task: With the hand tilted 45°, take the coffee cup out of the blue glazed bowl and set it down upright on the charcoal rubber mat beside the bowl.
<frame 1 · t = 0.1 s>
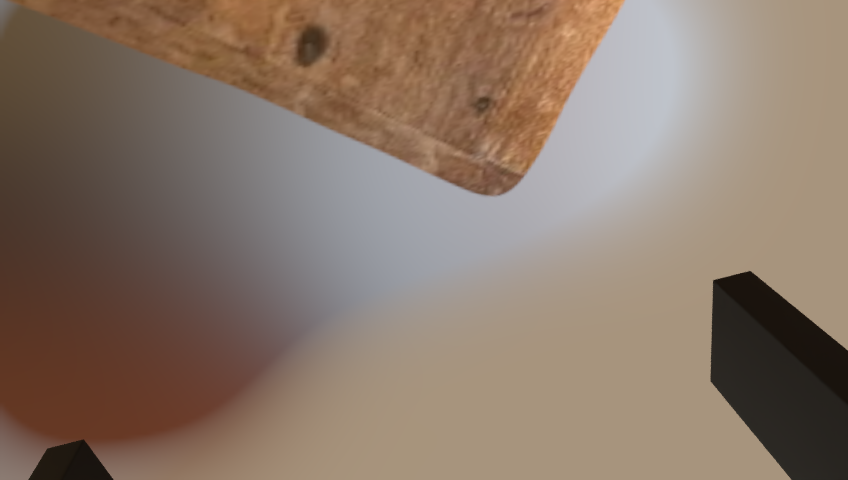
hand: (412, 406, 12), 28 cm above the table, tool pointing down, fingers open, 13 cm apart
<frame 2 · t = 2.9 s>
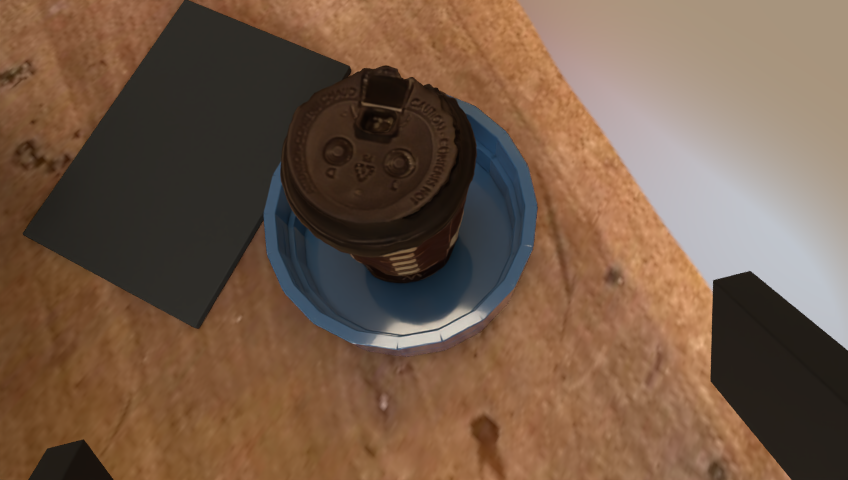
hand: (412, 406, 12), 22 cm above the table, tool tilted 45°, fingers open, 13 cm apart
coffee cup: (407, 234, 35), resting on bowl
mat: (193, 151, 39), on the table
bowl: (407, 235, 36), on the table
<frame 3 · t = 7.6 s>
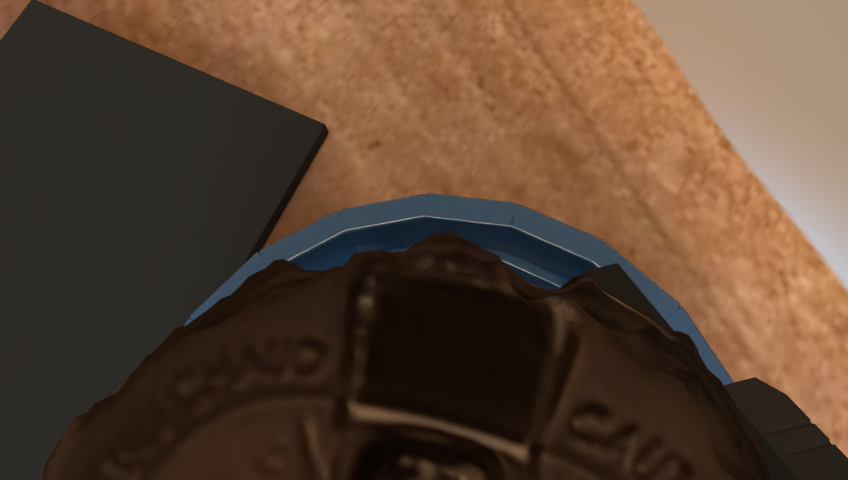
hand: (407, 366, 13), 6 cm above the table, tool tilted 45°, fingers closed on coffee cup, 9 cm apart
mat: (27, 289, 20), on the table
bowl: (440, 479, 18), on the table
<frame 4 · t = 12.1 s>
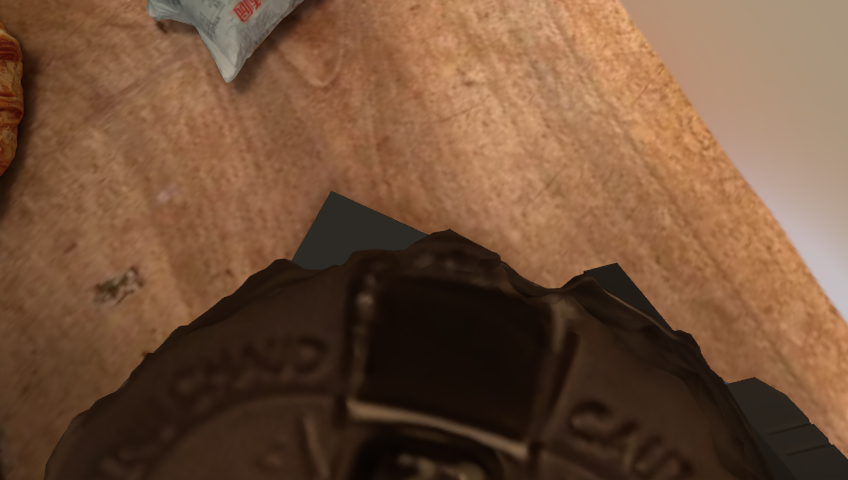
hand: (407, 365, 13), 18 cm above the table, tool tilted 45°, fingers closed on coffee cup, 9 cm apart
mat: (355, 405, 30), on the table
packaged food: (265, 5, 38), on the table
when the fingers open (6 cm above the table, at t = 16.6 s): coffee cup stays where it is, resting on mat.
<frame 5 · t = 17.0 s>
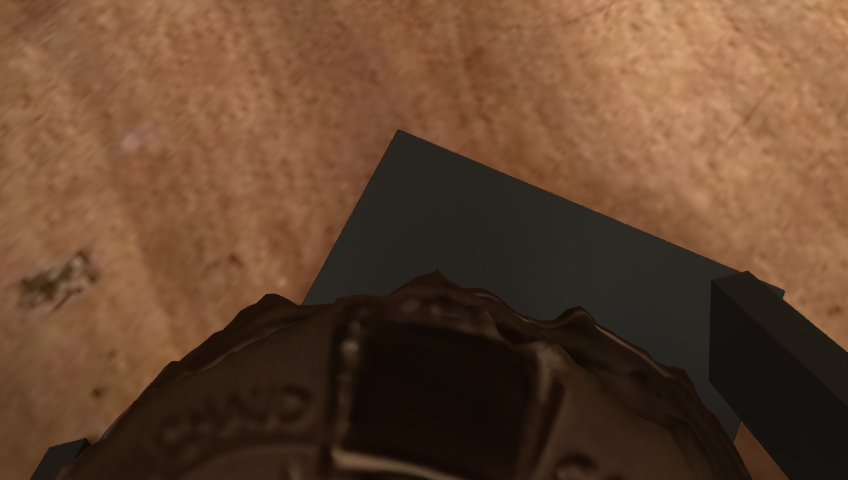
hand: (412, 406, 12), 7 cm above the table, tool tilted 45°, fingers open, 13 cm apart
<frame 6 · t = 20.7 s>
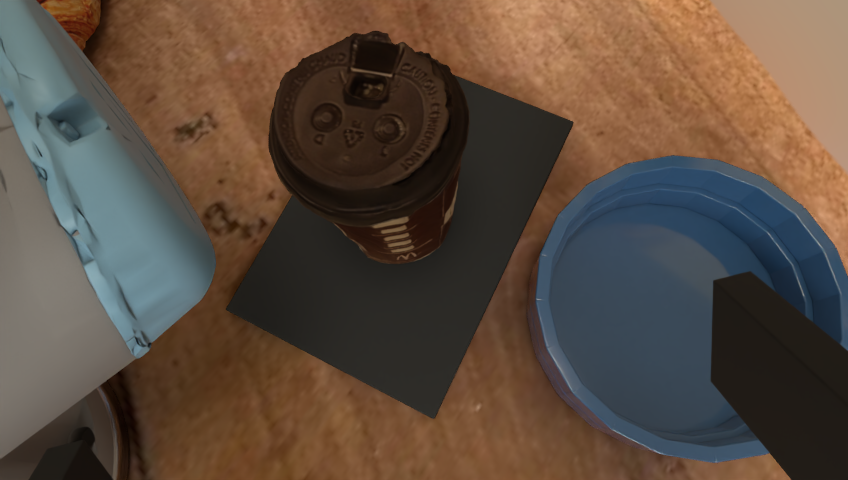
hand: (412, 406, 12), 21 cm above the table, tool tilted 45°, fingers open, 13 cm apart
coffee cup: (402, 215, 35), resting on mat
mat: (404, 216, 35), on the table
bowl: (659, 313, 32), on the table
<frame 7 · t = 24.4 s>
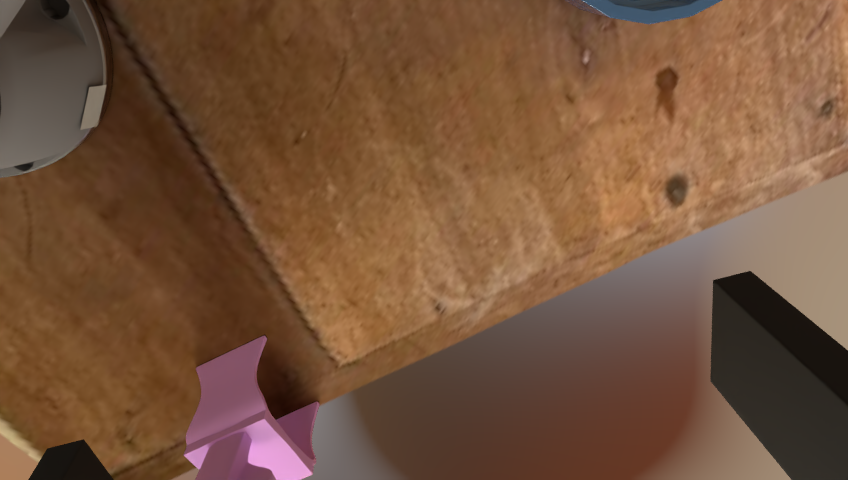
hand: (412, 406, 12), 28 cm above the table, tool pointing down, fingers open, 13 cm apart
toy chair: (262, 386, 46), on the table
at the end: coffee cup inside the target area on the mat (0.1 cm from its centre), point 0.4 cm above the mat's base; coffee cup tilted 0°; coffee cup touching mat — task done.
